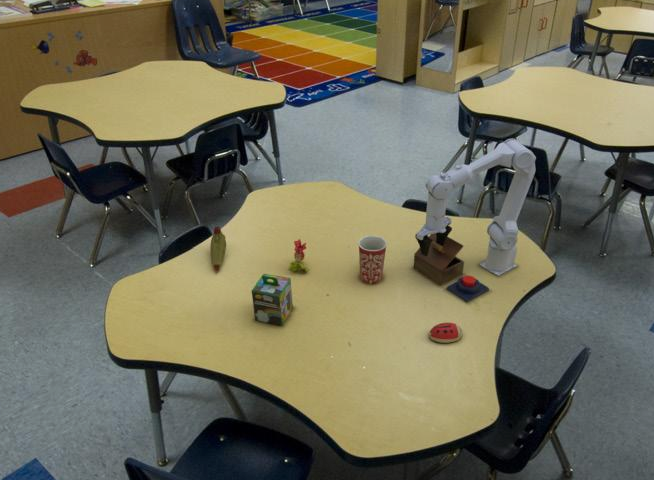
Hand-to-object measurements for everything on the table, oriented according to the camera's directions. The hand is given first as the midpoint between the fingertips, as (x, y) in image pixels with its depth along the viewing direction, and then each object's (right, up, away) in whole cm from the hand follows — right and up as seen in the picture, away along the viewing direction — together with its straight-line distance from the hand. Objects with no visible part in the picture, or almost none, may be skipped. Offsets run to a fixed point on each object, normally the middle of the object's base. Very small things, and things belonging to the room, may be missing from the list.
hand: (432, 250), depth 187 cm
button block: (+11, -13, -2) cm, 17 cm away
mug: (-19, -8, +6) cm, 21 cm away
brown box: (+3, -7, +7) cm, 11 cm away
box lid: (+3, 0, +2) cm, 4 cm away
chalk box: (-50, -19, -10) cm, 54 cm away
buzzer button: (+11, -10, -3) cm, 15 cm away
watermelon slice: (0, -24, -20) cm, 31 cm away
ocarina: (-71, -3, +17) cm, 73 cm away
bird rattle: (-43, -6, +11) cm, 45 cm away
